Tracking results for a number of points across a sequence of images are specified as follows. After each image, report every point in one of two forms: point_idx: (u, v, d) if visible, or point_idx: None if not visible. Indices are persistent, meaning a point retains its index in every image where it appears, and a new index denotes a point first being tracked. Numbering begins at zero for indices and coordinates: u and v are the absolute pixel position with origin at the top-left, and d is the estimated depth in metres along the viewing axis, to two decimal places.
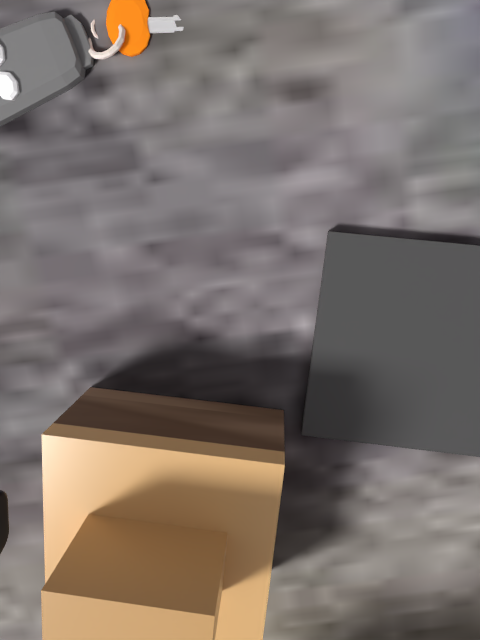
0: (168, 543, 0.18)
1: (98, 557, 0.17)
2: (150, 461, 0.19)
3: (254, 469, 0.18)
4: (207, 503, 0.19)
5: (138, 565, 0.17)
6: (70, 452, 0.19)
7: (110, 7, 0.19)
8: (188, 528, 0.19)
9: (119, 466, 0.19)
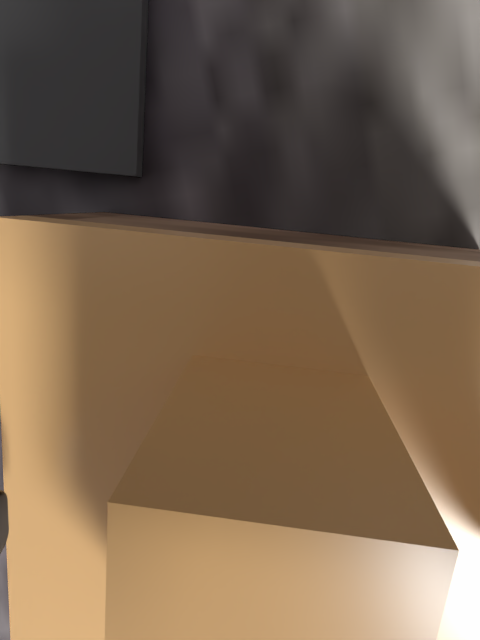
0: None
1: None
2: (34, 503, 0.09)
3: (15, 289, 0.08)
4: (118, 397, 0.08)
5: None
6: (40, 639, 0.10)
7: None
8: None
9: (55, 562, 0.09)
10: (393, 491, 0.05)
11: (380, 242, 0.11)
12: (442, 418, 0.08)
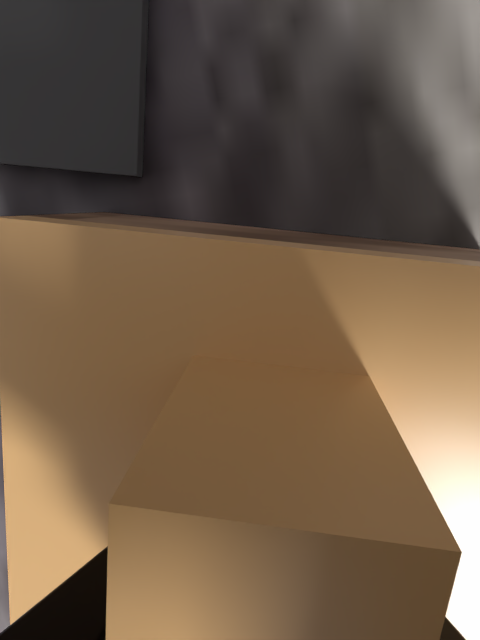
0: None
1: None
2: (34, 504, 0.09)
3: (16, 289, 0.08)
4: (119, 397, 0.08)
5: None
6: None
7: None
8: None
9: (55, 563, 0.09)
10: (395, 492, 0.04)
11: (381, 242, 0.11)
12: (443, 418, 0.08)
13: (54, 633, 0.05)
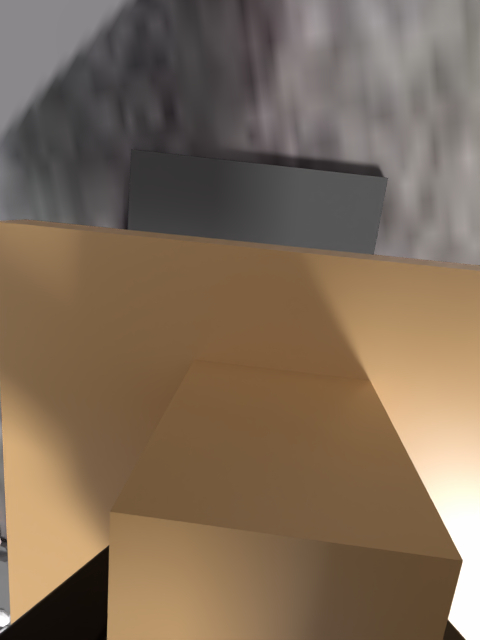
0: None
1: None
2: (35, 508, 0.09)
3: (17, 293, 0.08)
4: (120, 401, 0.08)
5: None
6: None
7: None
8: None
9: (56, 566, 0.09)
10: (396, 499, 0.04)
11: None
12: (444, 423, 0.08)
13: (53, 633, 0.05)
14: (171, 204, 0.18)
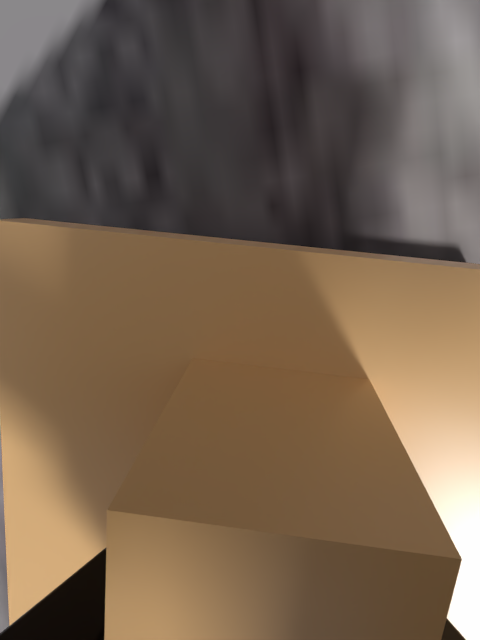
0: None
1: None
2: (33, 507, 0.09)
3: (15, 292, 0.08)
4: (118, 400, 0.08)
5: None
6: None
7: None
8: None
9: (55, 566, 0.09)
10: (395, 498, 0.04)
11: None
12: (443, 422, 0.08)
13: (54, 633, 0.05)
14: None
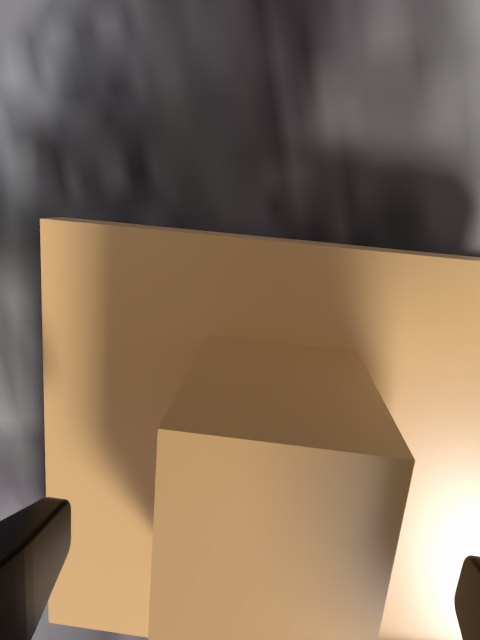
0: None
1: None
2: (71, 465, 0.10)
3: (59, 279, 0.09)
4: (145, 371, 0.10)
5: None
6: (74, 586, 0.11)
7: None
8: None
9: (88, 517, 0.11)
10: (370, 426, 0.06)
11: None
12: (420, 387, 0.09)
13: None
14: None
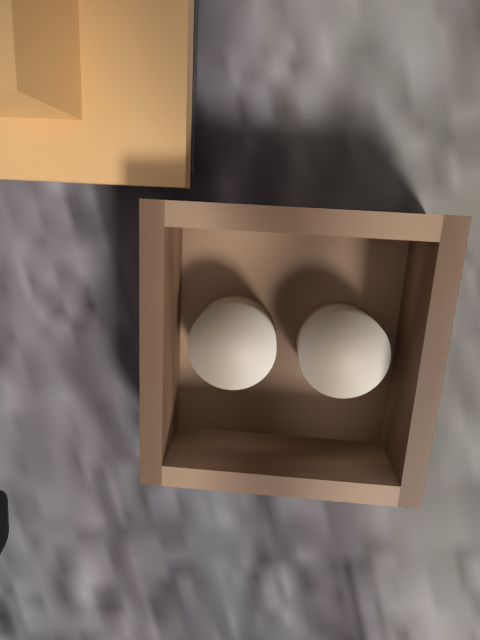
0: None
1: None
2: None
3: None
4: None
5: None
6: None
7: None
8: None
9: None
10: None
11: None
12: None
13: None
14: None
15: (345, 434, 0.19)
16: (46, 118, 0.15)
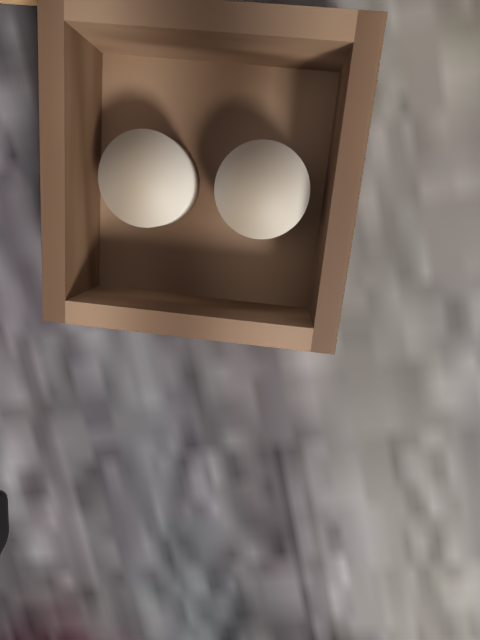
0: None
1: None
2: None
3: None
4: None
5: None
6: None
7: None
8: None
9: None
10: None
11: None
12: None
13: None
14: None
15: (271, 297, 0.18)
16: None
